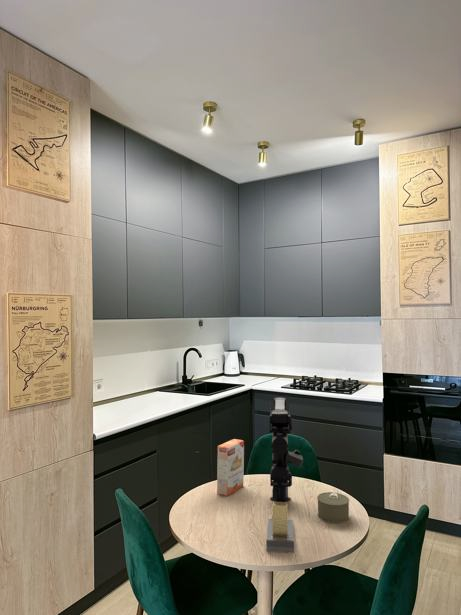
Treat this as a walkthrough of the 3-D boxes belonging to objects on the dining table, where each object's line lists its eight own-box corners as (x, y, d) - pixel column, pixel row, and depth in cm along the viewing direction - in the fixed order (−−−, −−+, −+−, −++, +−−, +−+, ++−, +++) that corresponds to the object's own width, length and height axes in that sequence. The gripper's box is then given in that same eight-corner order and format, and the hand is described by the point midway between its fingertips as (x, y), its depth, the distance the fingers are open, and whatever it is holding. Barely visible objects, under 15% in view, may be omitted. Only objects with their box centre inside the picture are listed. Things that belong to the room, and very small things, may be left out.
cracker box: (228, 496, 187) (228, 447, 188) (216, 493, 190) (216, 445, 191) (244, 486, 199) (244, 440, 199) (233, 483, 202) (233, 438, 203)
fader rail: (268, 522, 163) (268, 513, 163) (292, 523, 162) (292, 514, 162) (266, 551, 143) (266, 540, 143) (294, 552, 142) (293, 541, 142)
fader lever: (271, 535, 150) (271, 500, 150) (289, 536, 149) (288, 501, 150) (271, 542, 145) (270, 506, 145) (289, 543, 144) (289, 507, 145)
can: (315, 521, 165) (315, 502, 165) (319, 507, 176) (319, 490, 176) (348, 525, 161) (348, 506, 161) (350, 511, 172) (349, 494, 173)
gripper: (302, 454, 154) (303, 498, 153) (300, 439, 172) (300, 479, 172) (271, 453, 155) (271, 497, 155) (272, 438, 174) (272, 478, 173)
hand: (280, 487), depth 164 cm, fingers closed
